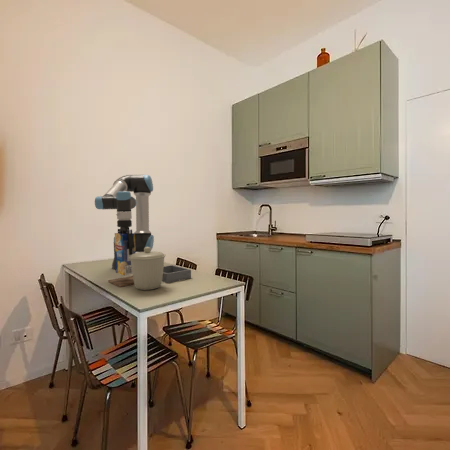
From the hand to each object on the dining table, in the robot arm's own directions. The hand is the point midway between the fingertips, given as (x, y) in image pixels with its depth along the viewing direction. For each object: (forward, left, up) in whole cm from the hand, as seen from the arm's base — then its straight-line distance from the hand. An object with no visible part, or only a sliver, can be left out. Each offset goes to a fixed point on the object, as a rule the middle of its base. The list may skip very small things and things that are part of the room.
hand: (125, 259), depth 161 cm
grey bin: (+8, +23, -13) cm, 28 cm away
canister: (+19, +4, -13) cm, 23 cm away
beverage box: (0, 0, -8) cm, 8 cm away
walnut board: (0, 0, -13) cm, 13 cm away
